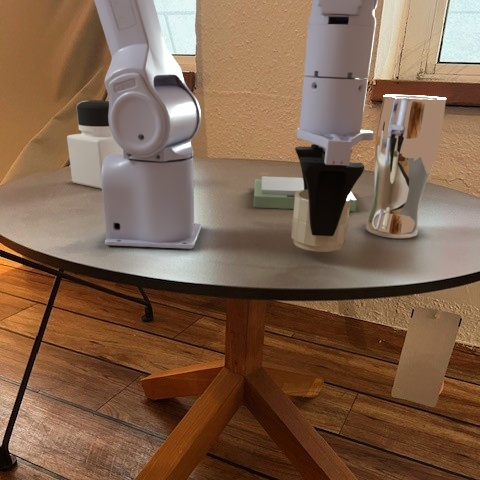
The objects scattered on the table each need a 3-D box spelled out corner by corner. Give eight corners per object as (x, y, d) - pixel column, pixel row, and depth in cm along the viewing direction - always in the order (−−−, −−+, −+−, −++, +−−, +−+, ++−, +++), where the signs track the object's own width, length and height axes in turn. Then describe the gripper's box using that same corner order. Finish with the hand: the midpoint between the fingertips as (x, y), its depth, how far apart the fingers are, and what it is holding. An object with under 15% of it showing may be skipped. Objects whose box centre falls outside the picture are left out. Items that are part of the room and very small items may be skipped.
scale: (253, 207, 69) (254, 191, 68) (254, 189, 79) (255, 175, 78) (355, 211, 69) (357, 195, 68) (344, 193, 79) (345, 178, 78)
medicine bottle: (136, 182, 81) (131, 101, 75) (103, 190, 76) (95, 103, 70) (105, 176, 84) (98, 98, 79) (71, 183, 79) (61, 100, 74)
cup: (292, 251, 50) (296, 201, 47) (289, 234, 55) (293, 187, 52) (347, 254, 50) (354, 203, 47) (340, 236, 54) (346, 190, 52)
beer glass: (351, 225, 63) (369, 94, 56) (398, 221, 65) (421, 95, 58) (382, 242, 57) (407, 99, 50) (433, 237, 59) (463, 99, 53)
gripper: (400, 82, 38) (372, 251, 45) (365, 77, 51) (348, 208, 57) (307, 79, 38) (293, 247, 45) (296, 74, 51) (286, 205, 58)
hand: (319, 225), depth 51 cm, fingers closed on cup, 5 cm apart
